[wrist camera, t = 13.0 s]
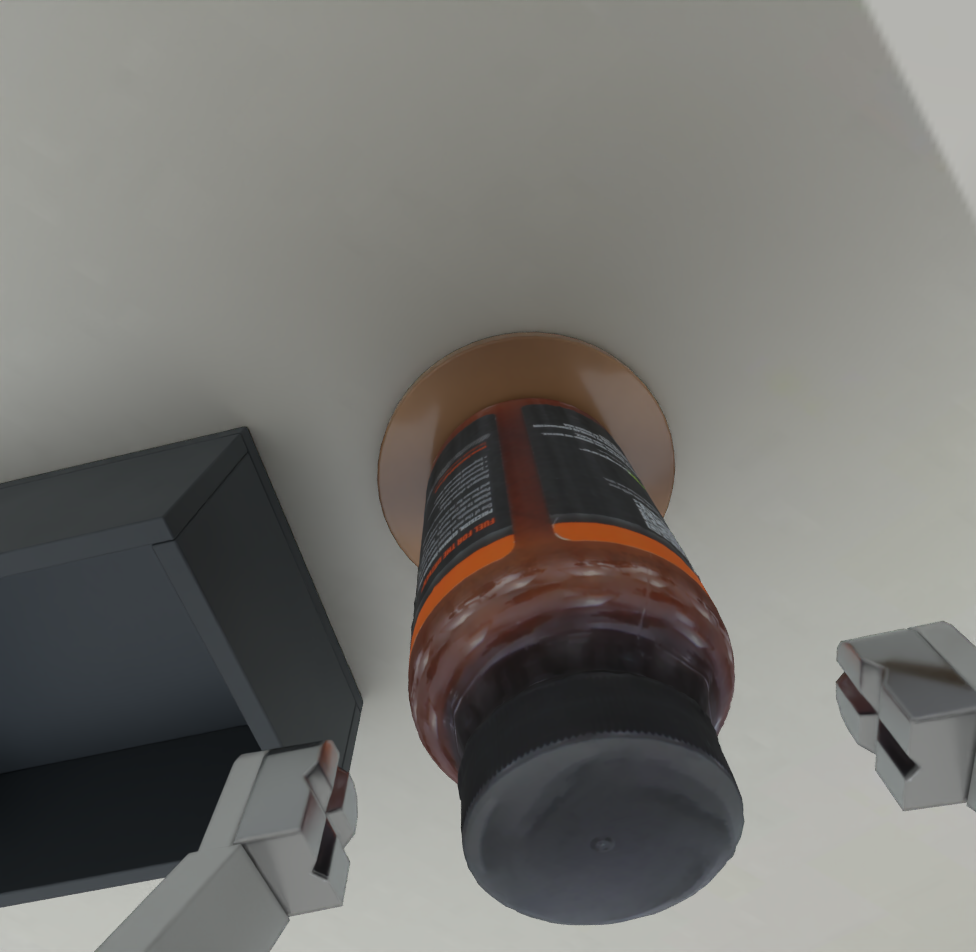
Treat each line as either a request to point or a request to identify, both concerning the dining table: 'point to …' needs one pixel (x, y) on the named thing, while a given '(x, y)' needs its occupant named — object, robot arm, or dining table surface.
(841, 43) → the dining table surface
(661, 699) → the supplement bottle
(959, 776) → the robot arm
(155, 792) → the bin
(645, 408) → the coaster
